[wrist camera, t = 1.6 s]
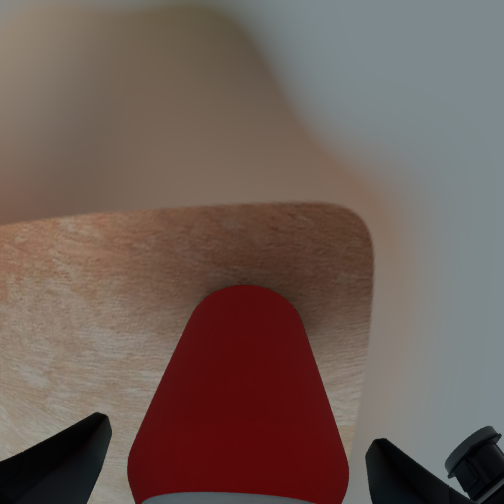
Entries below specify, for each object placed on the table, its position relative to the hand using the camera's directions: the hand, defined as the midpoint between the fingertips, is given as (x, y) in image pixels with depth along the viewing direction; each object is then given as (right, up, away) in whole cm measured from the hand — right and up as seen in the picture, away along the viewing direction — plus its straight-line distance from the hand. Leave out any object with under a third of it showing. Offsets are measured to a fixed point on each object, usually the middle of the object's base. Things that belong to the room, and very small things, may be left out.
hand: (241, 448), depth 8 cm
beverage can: (0, +2, +9) cm, 9 cm away
